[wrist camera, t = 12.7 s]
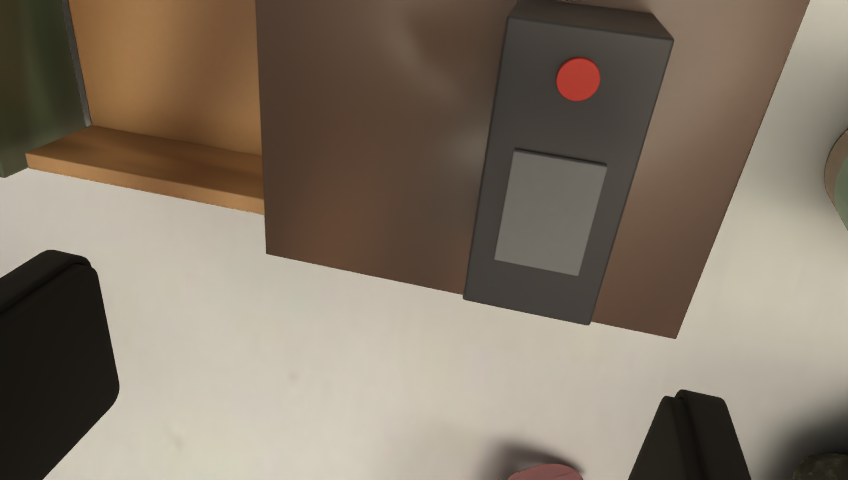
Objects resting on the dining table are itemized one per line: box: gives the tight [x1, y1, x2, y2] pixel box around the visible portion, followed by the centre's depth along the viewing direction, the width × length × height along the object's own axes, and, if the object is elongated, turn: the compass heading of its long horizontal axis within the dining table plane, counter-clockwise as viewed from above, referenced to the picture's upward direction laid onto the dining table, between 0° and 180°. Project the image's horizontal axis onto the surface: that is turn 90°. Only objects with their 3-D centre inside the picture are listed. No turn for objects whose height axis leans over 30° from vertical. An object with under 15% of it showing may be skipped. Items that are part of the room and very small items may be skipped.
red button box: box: [463, 0, 674, 325], centre depth 19 cm, size 4×9×5 cm, turn 175°
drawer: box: [0, 0, 265, 215], centre depth 27 cm, size 21×13×6 cm, turn 85°
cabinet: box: [255, 0, 810, 339], centre depth 24 cm, size 18×15×8 cm
